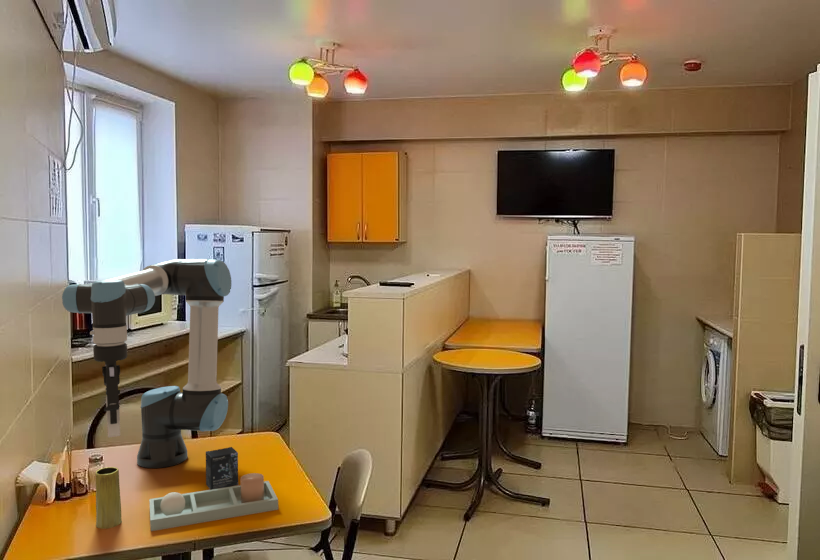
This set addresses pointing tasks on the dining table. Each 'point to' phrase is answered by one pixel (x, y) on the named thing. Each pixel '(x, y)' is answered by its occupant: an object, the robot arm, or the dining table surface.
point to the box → (221, 468)
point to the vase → (108, 498)
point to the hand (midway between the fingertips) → (113, 428)
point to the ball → (172, 504)
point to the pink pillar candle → (252, 487)
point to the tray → (211, 507)
